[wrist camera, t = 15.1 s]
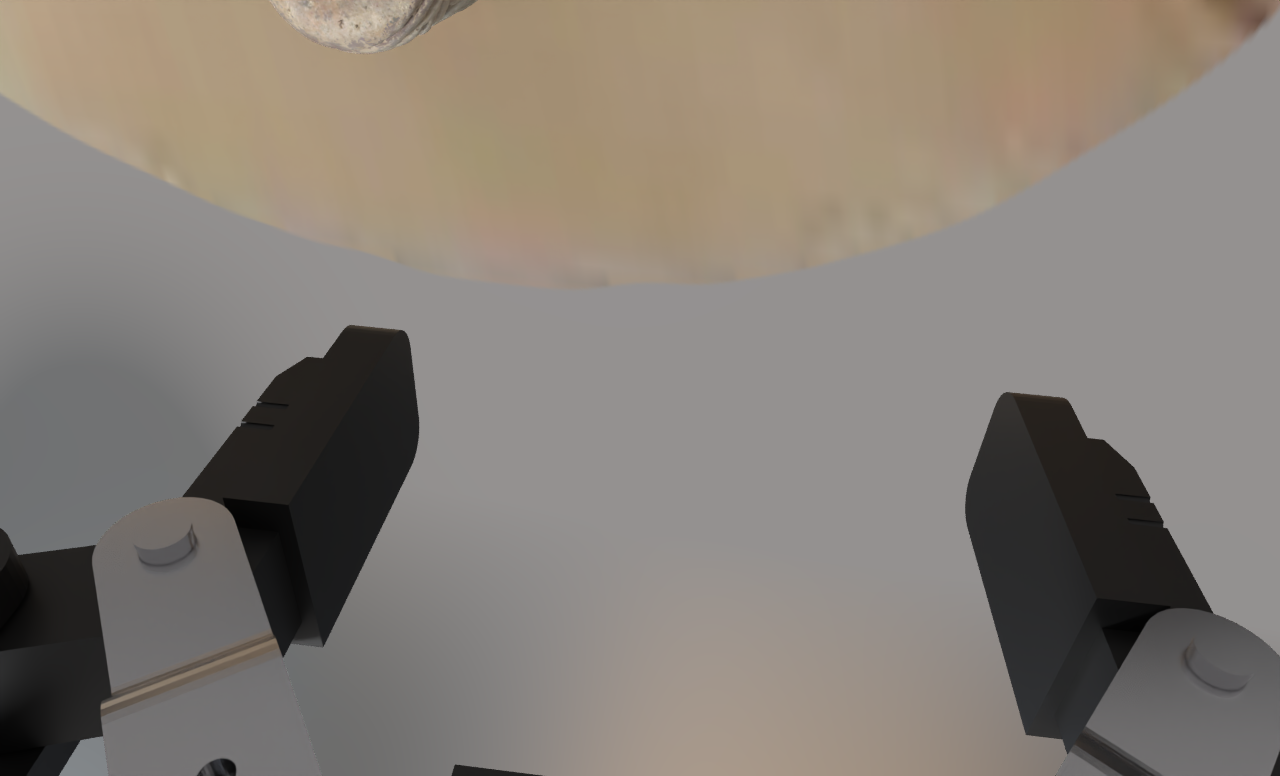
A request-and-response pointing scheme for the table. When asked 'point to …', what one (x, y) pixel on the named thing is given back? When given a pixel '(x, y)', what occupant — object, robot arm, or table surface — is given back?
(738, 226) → the table surface
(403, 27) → the carving
